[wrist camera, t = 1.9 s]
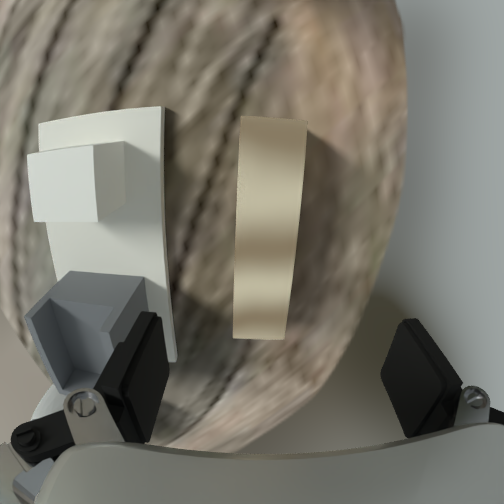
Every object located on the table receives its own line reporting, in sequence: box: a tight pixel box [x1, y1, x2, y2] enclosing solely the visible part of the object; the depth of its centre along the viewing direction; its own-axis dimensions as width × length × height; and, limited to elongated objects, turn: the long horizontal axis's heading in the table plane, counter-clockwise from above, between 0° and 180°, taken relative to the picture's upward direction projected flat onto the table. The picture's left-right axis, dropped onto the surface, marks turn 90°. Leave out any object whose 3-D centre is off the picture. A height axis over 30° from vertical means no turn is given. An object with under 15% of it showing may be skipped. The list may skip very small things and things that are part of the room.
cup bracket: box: [24, 106, 178, 396], centre depth 20 cm, size 24×12×9 cm, turn 177°
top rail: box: [233, 116, 308, 340], centre depth 22 cm, size 16×4×5 cm, turn 177°
